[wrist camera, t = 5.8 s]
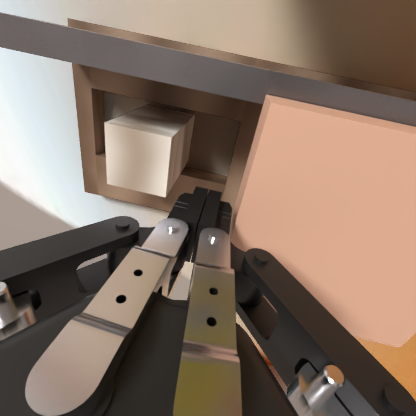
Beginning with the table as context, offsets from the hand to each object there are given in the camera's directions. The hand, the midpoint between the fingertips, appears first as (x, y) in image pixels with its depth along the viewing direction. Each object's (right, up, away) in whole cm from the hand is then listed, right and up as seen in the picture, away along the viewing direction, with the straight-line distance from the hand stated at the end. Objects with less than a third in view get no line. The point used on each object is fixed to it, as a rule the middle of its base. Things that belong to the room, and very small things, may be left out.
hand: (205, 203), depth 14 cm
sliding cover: (+8, -1, +1) cm, 8 cm away
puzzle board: (+2, +6, +10) cm, 11 cm away
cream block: (-4, +7, +10) cm, 13 cm away
